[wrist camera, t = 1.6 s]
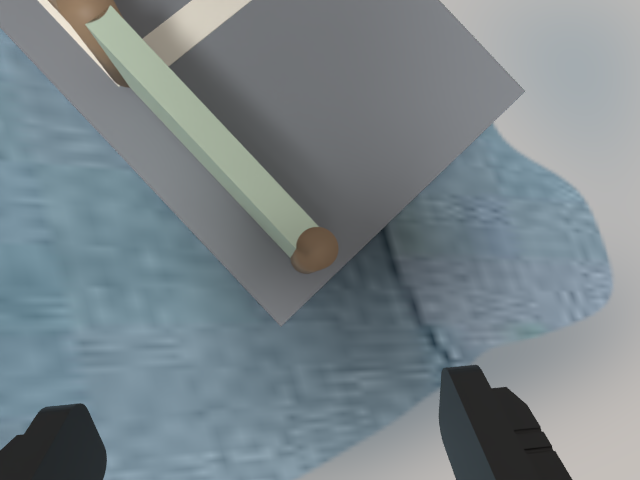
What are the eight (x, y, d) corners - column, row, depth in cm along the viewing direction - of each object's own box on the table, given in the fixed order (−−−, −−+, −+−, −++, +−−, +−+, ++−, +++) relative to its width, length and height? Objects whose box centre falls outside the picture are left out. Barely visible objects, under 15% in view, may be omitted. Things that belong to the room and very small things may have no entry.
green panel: (100, 66, 27) (45, -5, 20) (131, 42, 27) (86, -34, 21) (303, 282, 27) (313, 281, 20) (331, 256, 27) (350, 246, 21)
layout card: (280, 326, 27) (280, 326, 27) (-82, -60, 27) (-88, -66, 27) (522, 93, 31) (525, 90, 30) (199, -247, 31) (198, -256, 30)
